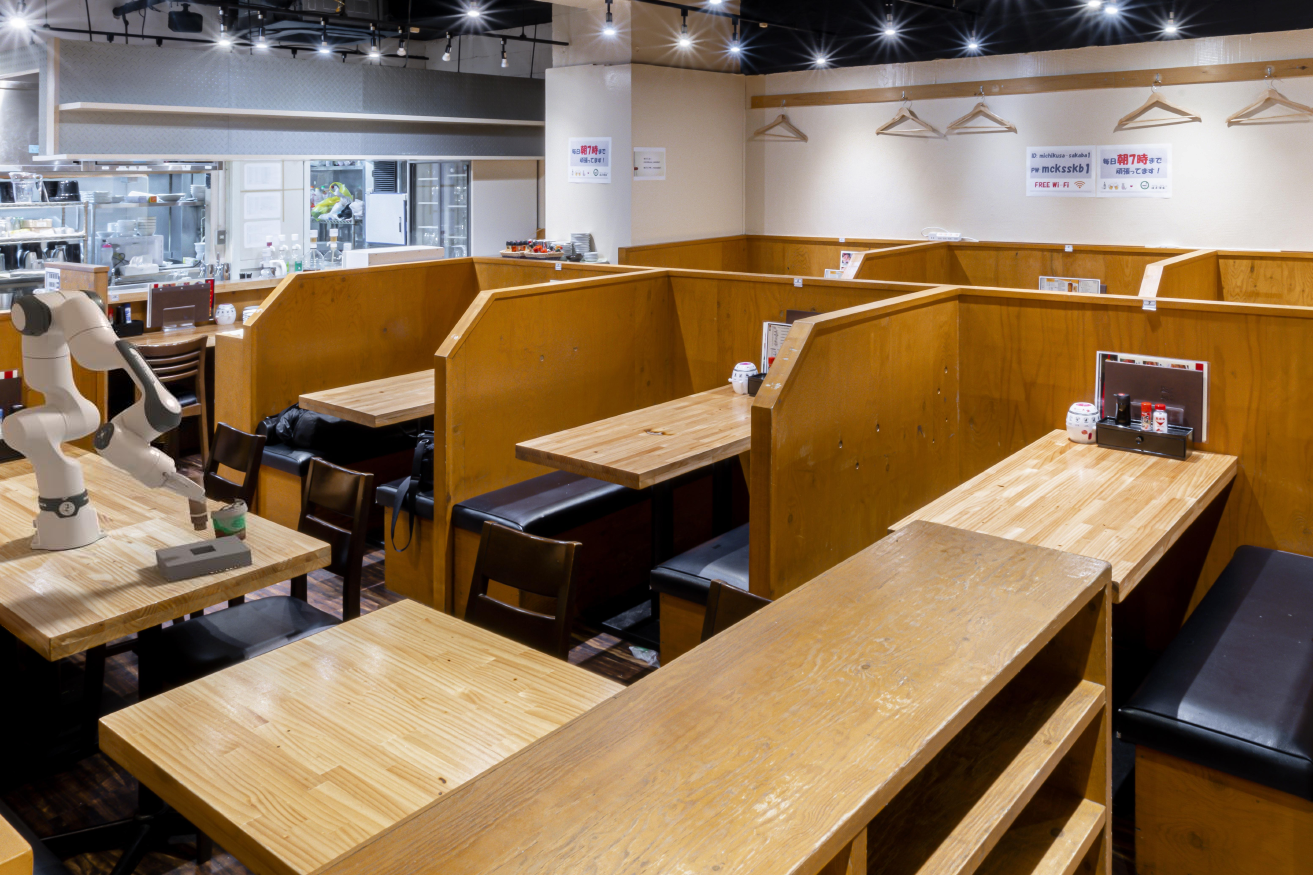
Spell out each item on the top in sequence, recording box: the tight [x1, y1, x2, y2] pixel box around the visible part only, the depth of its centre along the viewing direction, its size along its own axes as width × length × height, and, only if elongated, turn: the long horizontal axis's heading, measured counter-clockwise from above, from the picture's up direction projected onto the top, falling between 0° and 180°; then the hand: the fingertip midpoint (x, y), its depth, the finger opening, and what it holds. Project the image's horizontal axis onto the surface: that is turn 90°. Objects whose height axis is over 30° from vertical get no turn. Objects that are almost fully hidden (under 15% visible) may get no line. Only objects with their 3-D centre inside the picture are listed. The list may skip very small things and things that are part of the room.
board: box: [155, 535, 253, 583], centre depth 273 cm, size 15×20×4 cm
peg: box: [186, 474, 209, 532], centre depth 269 cm, size 4×4×14 cm
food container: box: [210, 498, 249, 542], centre depth 291 cm, size 12×6×10 cm, turn 168°
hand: (199, 499), depth 270 cm, fingers closed on peg, 4 cm apart
